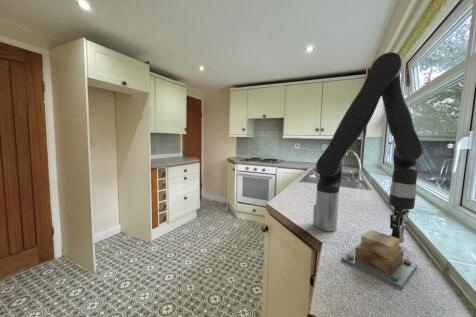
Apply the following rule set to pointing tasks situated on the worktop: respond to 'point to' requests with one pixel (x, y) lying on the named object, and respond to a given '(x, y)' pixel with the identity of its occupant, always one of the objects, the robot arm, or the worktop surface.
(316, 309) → the worktop surface
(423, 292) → the worktop surface
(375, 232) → the stepped wooden plinth
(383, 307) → the worktop surface
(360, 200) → the worktop surface
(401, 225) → the rook chess piece
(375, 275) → the baseplate
